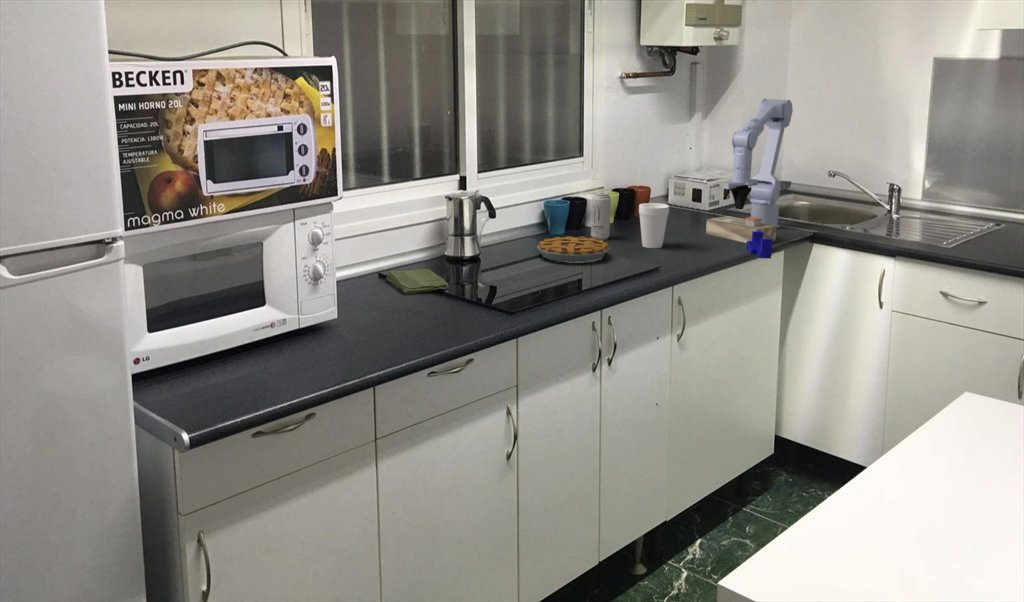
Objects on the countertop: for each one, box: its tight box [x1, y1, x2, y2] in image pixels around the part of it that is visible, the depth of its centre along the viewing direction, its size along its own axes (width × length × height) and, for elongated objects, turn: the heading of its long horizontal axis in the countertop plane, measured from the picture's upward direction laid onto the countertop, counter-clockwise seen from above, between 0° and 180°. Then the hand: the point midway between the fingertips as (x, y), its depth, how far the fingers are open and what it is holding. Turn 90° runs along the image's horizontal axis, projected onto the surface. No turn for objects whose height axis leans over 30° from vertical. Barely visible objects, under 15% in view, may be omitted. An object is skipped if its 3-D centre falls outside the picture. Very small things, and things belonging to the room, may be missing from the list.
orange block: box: [745, 216, 762, 227], centre depth 322 cm, size 4×4×5 cm
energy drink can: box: [590, 191, 611, 241], centre depth 322 cm, size 6×6×15 cm
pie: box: [536, 235, 610, 262], centre depth 299 cm, size 22×22×5 cm
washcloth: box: [386, 268, 449, 295], centre depth 266 cm, size 13×18×3 cm
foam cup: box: [638, 202, 670, 249], centre depth 312 cm, size 10×9×13 cm
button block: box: [705, 215, 777, 244], centre depth 327 cm, size 10×21×5 cm, turn 37°
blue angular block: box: [745, 231, 773, 259], centre depth 304 cm, size 12×4×6 cm, turn 1°
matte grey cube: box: [723, 219, 737, 222], centre depth 331 cm, size 4×4×5 cm
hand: (739, 208), depth 326 cm, fingers closed
